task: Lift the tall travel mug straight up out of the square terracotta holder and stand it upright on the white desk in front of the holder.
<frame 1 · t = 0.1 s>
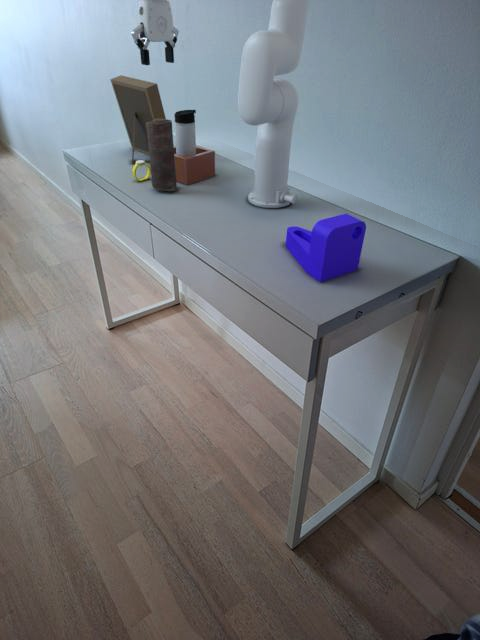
hand: (158, 63, 138), 31 cm above the table, tool pointing down, fingers open, 9 cm apart
photo frame: (141, 157, 165), on the table
candle: (164, 190, 138), on the table
travel mug: (187, 176, 149), resting in holder
bracket: (312, 259, 104), on the table
holder: (187, 175, 149), on the table
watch: (142, 180, 145), on the table
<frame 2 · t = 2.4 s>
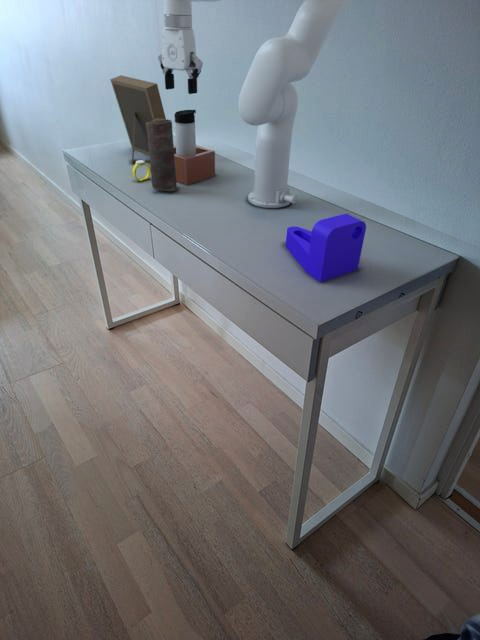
hand: (181, 91, 135), 25 cm above the table, tool pointing down, fingers open, 9 cm apart
nothing on the table moved.
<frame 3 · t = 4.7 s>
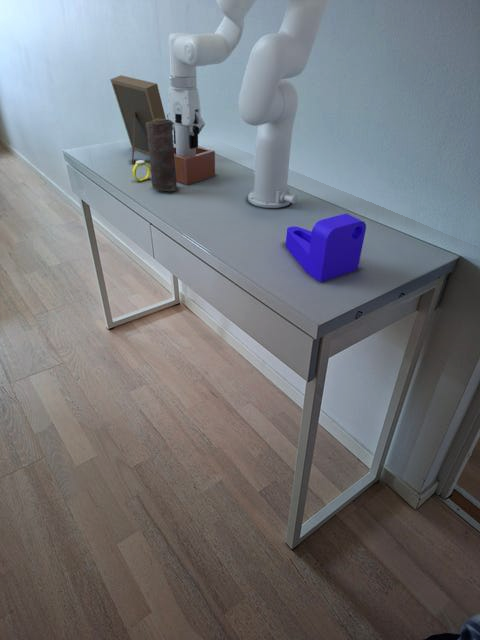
hand: (186, 145, 144), 10 cm above the table, tool pointing down, fingers closed on travel mug, 6 cm apart
travel mug: (187, 176, 149), resting in holder, touching gripper
everything else where it was.
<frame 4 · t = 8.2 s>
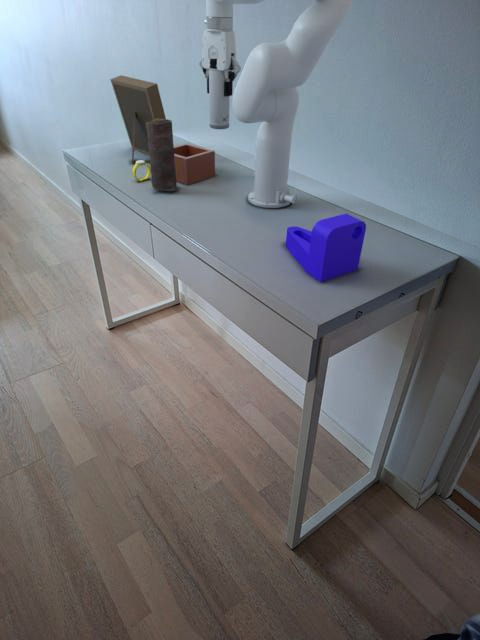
hand: (219, 93, 139), 24 cm above the table, tool pointing down, fingers closed on travel mug, 6 cm apart
travel mug: (219, 127, 145), point 14 cm above the table, touching gripper
everything else where it was.
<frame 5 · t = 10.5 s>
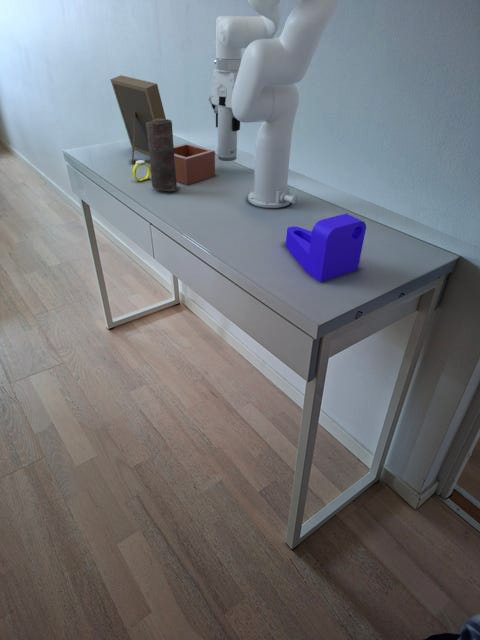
hand: (227, 128, 146), 14 cm above the table, tool pointing down, fingers closed on travel mug, 6 cm apart
travel mug: (227, 159, 152), point 4 cm above the table, touching gripper
everything else where it was.
when the fingers open (10 cm above the table, at t = 12.0 s): travel mug stays where it is, on the table.
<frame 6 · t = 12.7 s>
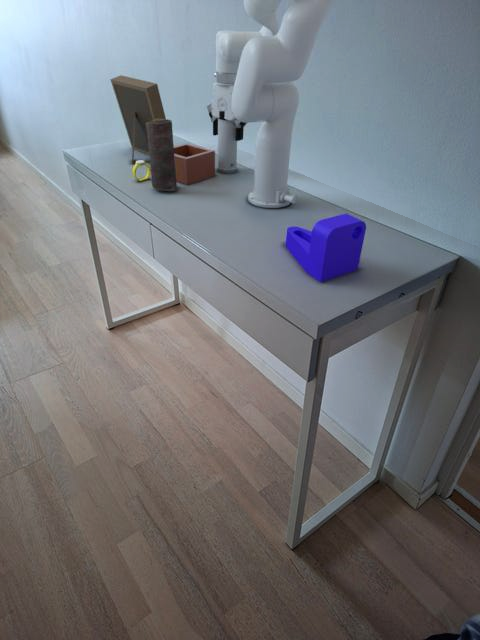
hand: (227, 137, 148), 11 cm above the table, tool pointing down, fingers open, 9 cm apart
travel mug: (227, 171, 154), on the table
everything else where it was.
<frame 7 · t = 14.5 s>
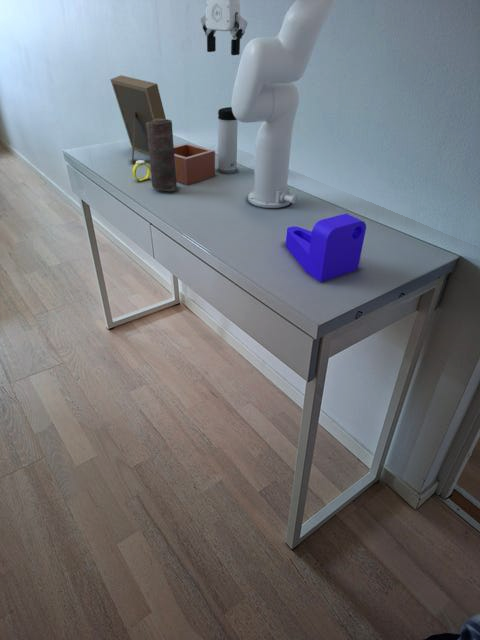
hand: (223, 53, 137), 34 cm above the table, tool pointing down, fingers open, 9 cm apart
nothing on the table moved.
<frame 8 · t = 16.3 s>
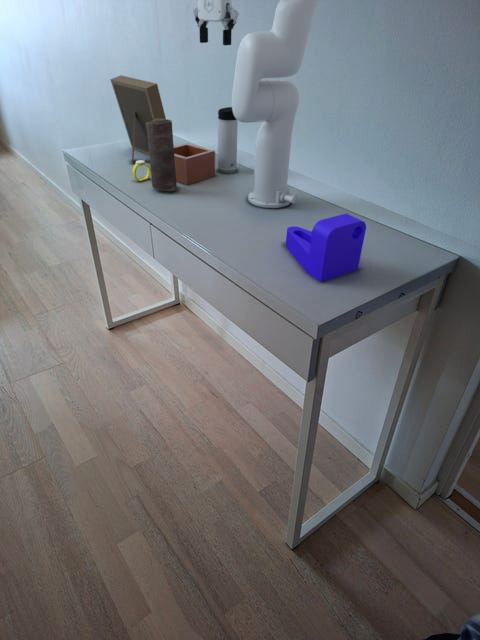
hand: (215, 43, 140), 36 cm above the table, tool pointing down, fingers open, 9 cm apart
nothing on the table moved.
at the end: travel mug inside the target area (0.1 cm from its centre), on the table; travel mug tilted 0°; the gripper is holding nothing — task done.
